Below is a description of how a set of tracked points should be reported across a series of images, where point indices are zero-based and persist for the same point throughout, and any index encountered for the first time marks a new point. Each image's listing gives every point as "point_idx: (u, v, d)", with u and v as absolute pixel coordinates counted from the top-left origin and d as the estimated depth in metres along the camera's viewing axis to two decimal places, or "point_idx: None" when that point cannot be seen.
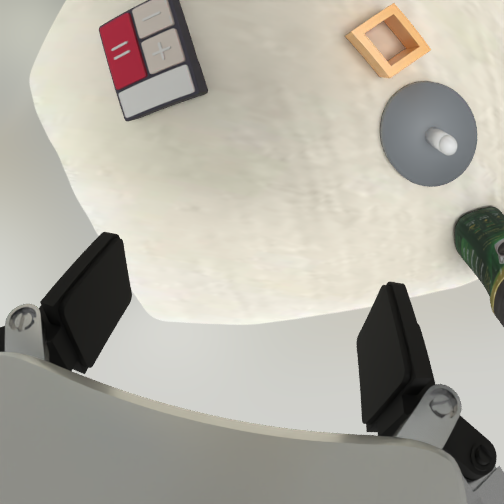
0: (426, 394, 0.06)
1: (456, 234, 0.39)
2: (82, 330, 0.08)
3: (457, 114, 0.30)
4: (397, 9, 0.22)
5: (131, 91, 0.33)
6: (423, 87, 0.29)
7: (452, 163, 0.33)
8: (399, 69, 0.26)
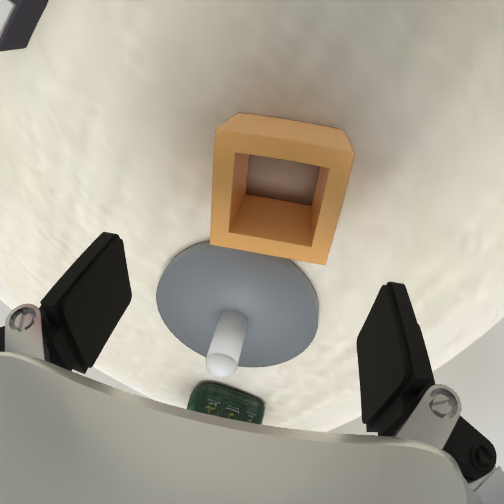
0: (426, 394, 0.06)
1: (195, 392, 0.35)
2: (82, 330, 0.08)
3: (291, 327, 0.25)
4: (347, 167, 0.14)
5: None
6: (273, 271, 0.22)
7: None
8: (237, 246, 0.17)
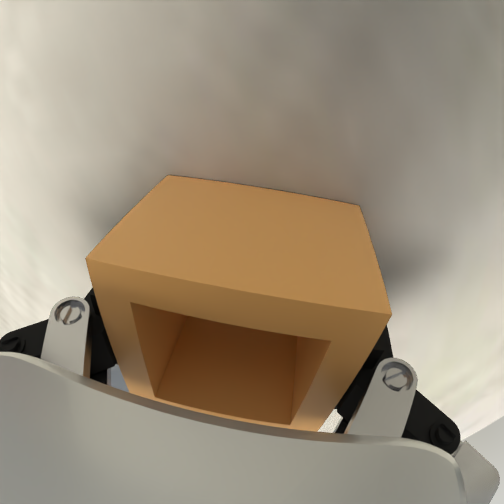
0: (379, 366, 0.07)
1: None
2: None
3: None
4: (369, 338, 0.06)
5: None
6: None
7: None
8: None
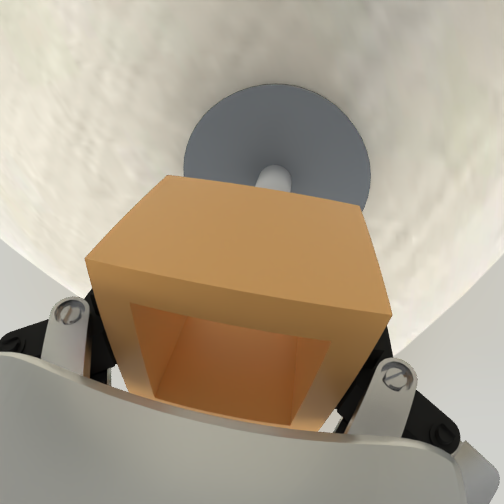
0: (378, 366, 0.07)
1: None
2: None
3: (340, 187, 0.22)
4: (369, 339, 0.06)
5: None
6: (323, 108, 0.19)
7: None
8: None
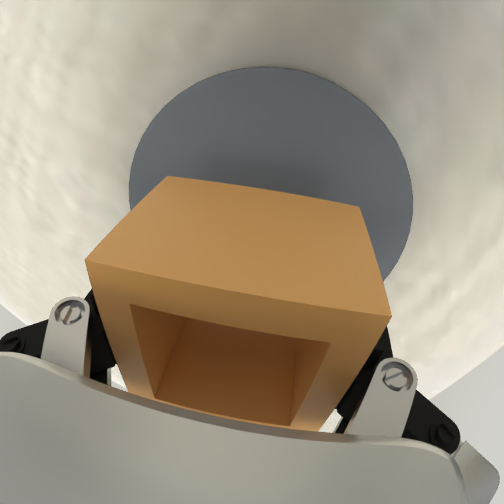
0: (378, 366, 0.07)
1: None
2: None
3: None
4: (368, 340, 0.06)
5: None
6: (344, 106, 0.11)
7: None
8: None
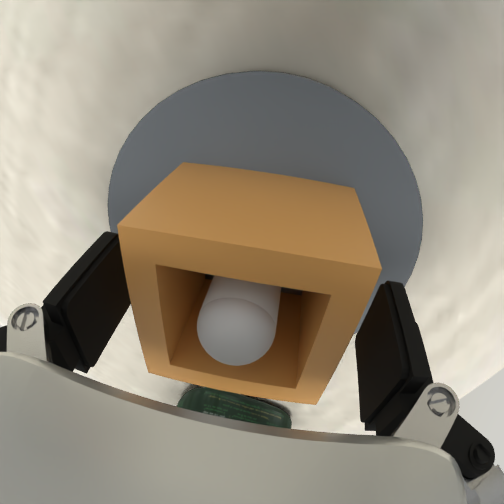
0: (424, 392, 0.06)
1: (184, 399, 0.22)
2: (84, 329, 0.08)
3: None
4: (363, 293, 0.07)
5: None
6: (348, 117, 0.10)
7: None
8: (186, 379, 0.11)
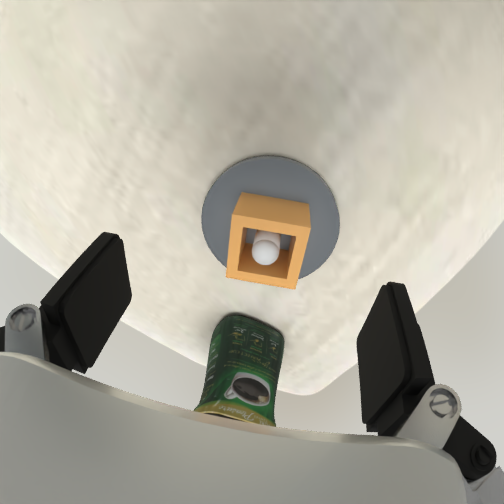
0: (426, 394, 0.06)
1: (220, 324, 0.40)
2: (82, 330, 0.08)
3: (317, 232, 0.31)
4: (306, 235, 0.26)
5: None
6: (306, 177, 0.28)
7: None
8: (242, 278, 0.29)
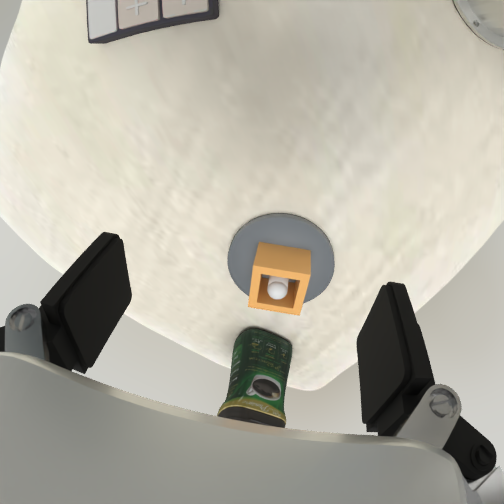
0: (426, 394, 0.06)
1: (241, 336, 0.49)
2: (82, 330, 0.08)
3: (317, 270, 0.40)
4: (307, 280, 0.35)
5: None
6: (308, 231, 0.37)
7: None
8: (260, 307, 0.38)
